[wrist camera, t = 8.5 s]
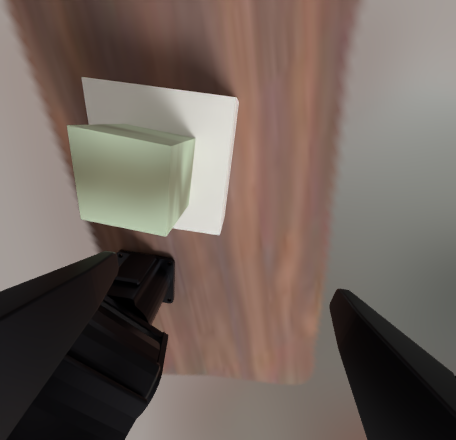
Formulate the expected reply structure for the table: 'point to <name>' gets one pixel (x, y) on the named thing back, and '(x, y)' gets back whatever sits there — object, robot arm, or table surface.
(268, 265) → the table surface
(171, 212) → the green cube
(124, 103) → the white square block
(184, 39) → the table surface
